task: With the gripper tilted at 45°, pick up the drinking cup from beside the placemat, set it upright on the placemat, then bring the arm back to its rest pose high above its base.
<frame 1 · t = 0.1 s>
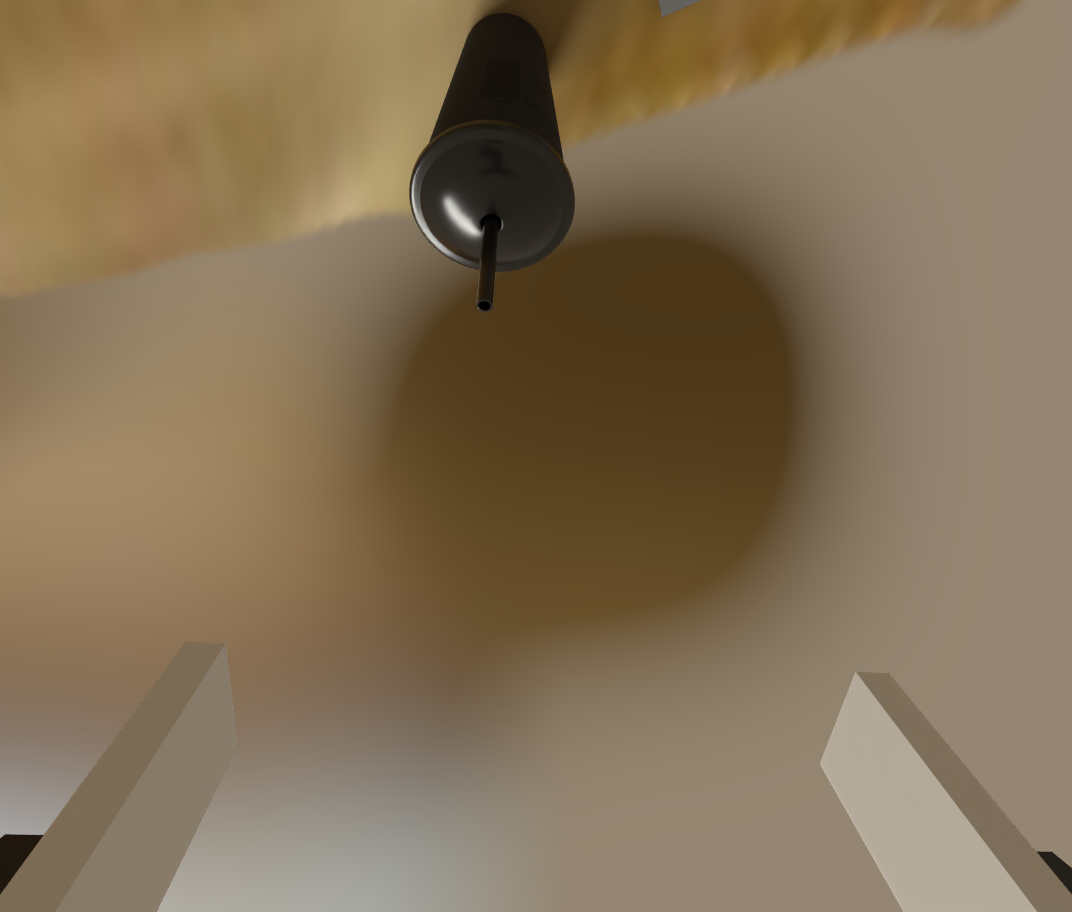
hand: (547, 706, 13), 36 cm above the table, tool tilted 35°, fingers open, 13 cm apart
drinking cup: (504, 59, 35), on the table
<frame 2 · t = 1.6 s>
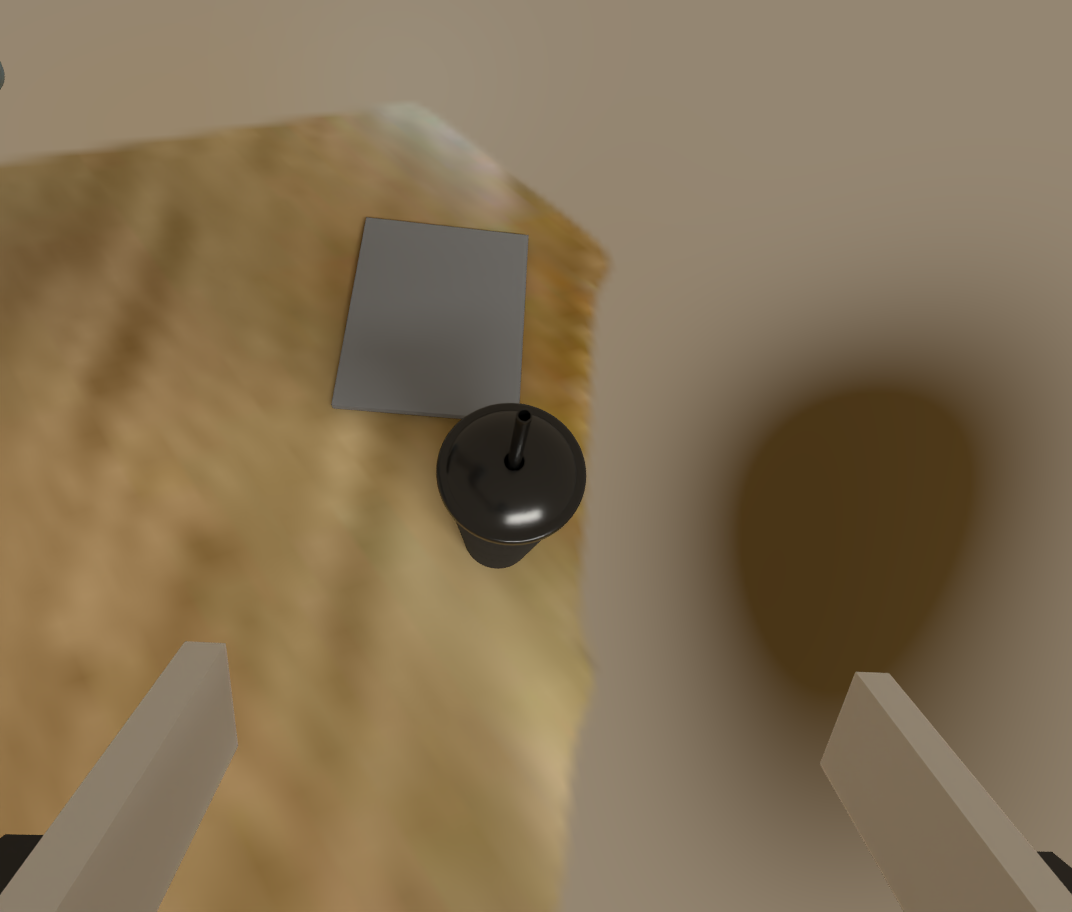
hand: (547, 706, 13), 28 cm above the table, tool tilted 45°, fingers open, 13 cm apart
drinking cup: (497, 536, 43), on the table
placemat: (438, 317, 49), on the table
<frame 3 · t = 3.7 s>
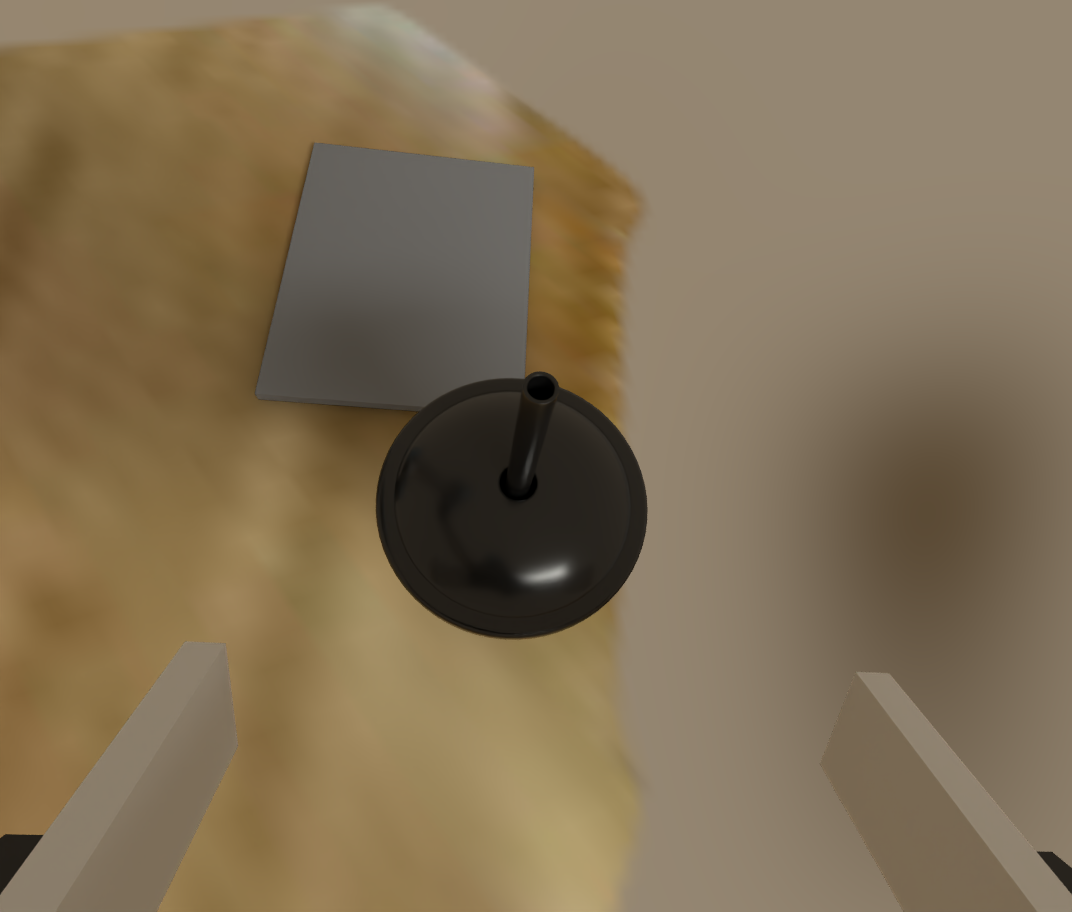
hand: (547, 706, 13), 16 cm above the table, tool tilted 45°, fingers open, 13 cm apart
drinking cup: (494, 583, 29), on the table
placemat: (411, 274, 36), on the table
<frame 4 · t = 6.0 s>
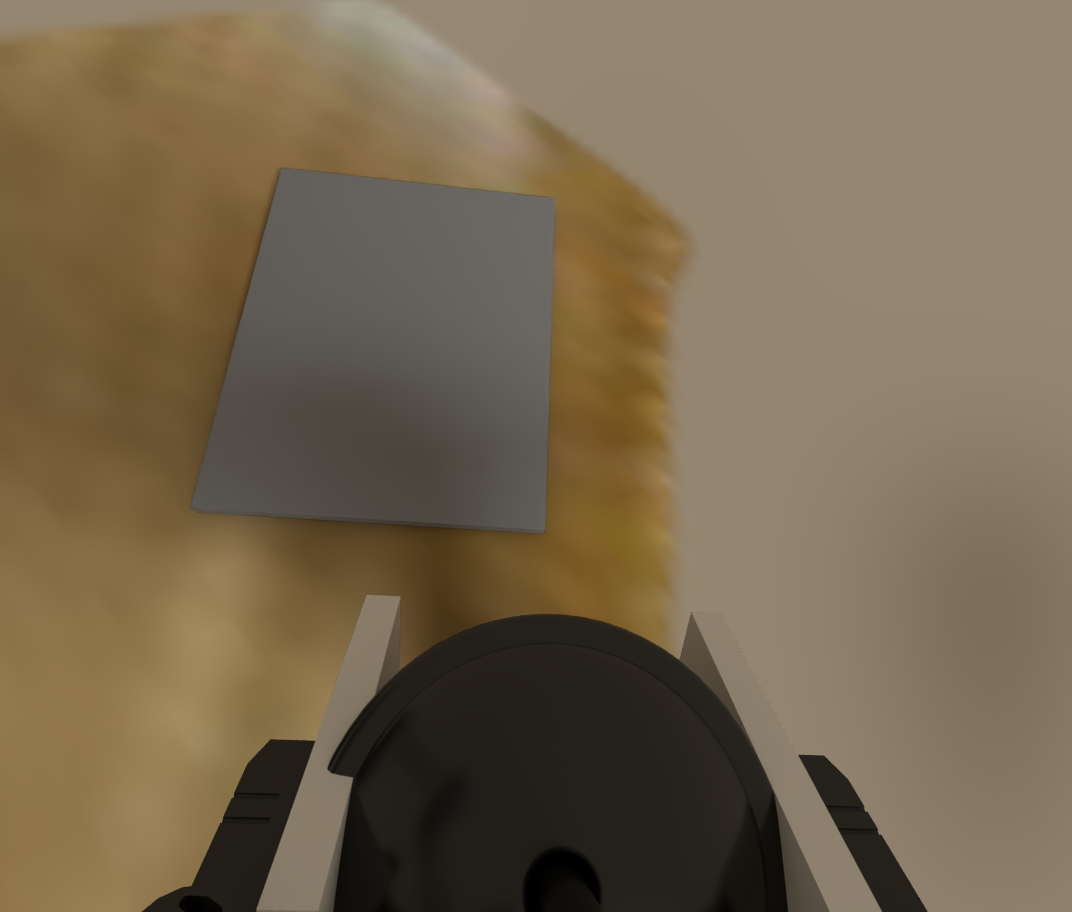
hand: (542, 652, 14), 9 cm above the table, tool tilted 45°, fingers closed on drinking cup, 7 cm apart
drinking cup: (508, 773, 22), on the table, touching gripper
placemat: (401, 337, 28), on the table
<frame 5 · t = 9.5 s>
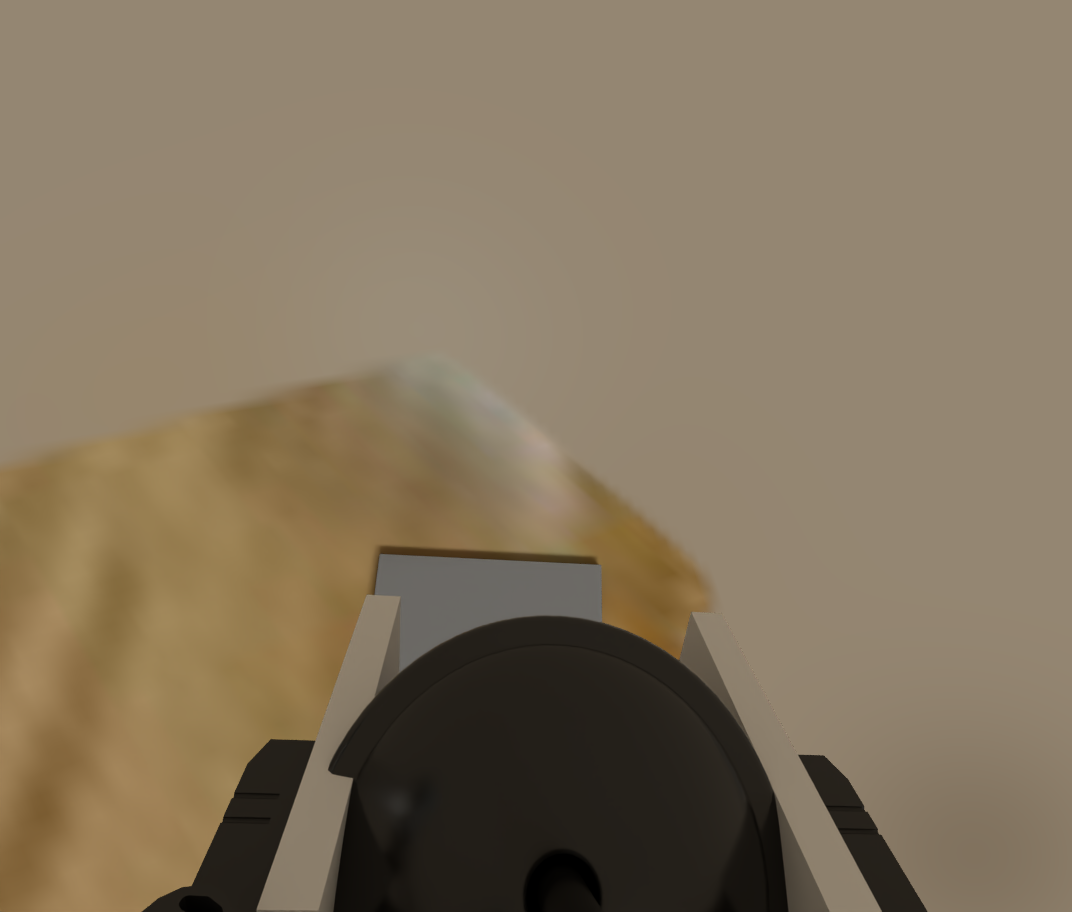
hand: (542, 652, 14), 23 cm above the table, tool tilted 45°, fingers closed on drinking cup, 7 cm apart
drinking cup: (508, 774, 22), point 14 cm above the table, touching gripper
placemat: (483, 714, 35), on the table
when the fingers open (11 cm above the table, at t = 13.1 s): drinking cup drops 1 cm, resting on placemat.
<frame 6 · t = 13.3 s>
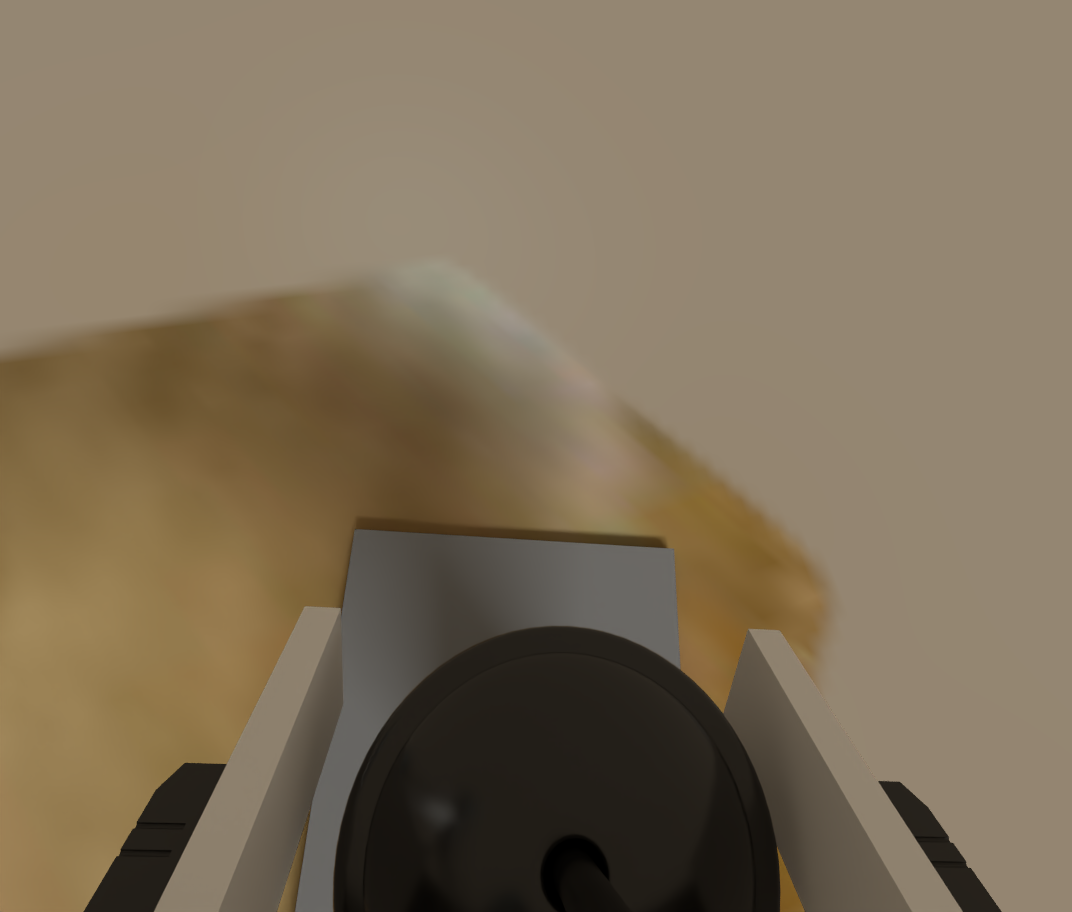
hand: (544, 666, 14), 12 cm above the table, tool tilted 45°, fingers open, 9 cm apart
drinking cup: (512, 770, 23), resting on placemat
placemat: (505, 768, 23), on the table
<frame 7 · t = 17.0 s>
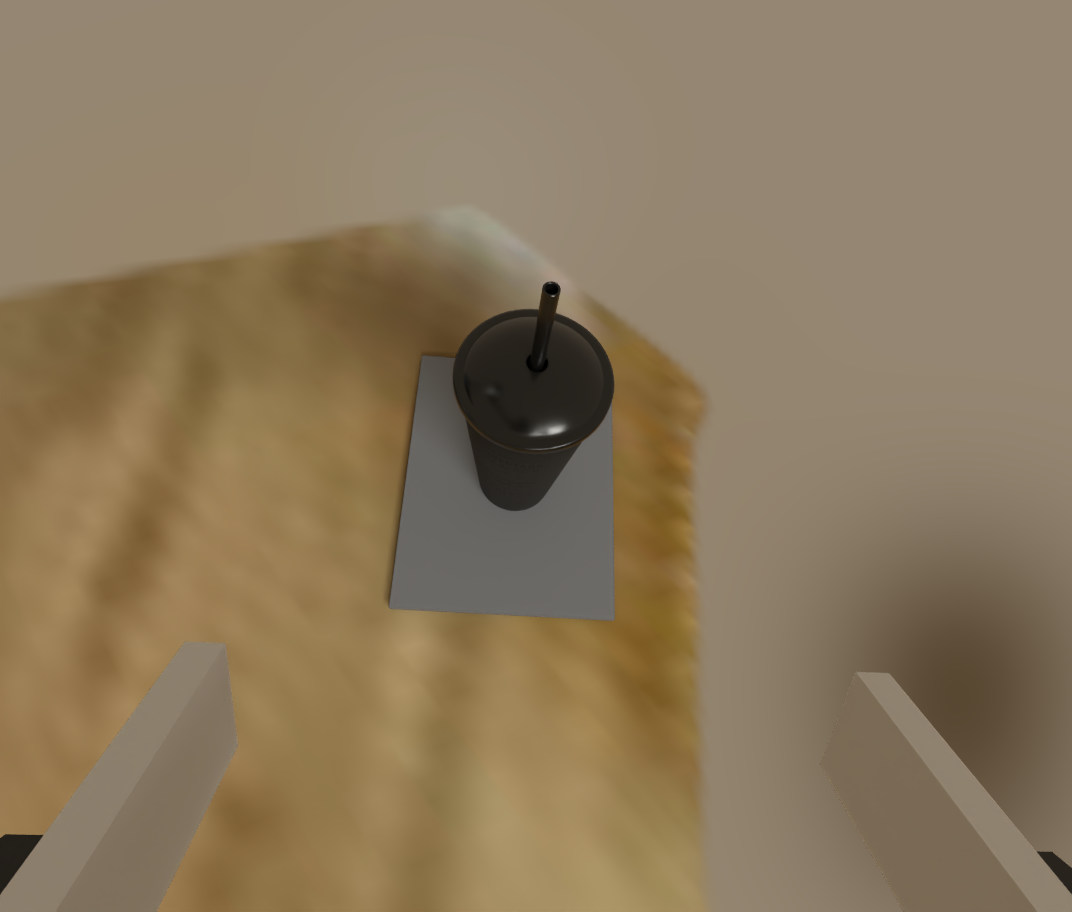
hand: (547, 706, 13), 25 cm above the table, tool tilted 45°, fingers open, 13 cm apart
drinking cup: (514, 478, 41), resting on placemat
placemat: (510, 480, 41), on the table
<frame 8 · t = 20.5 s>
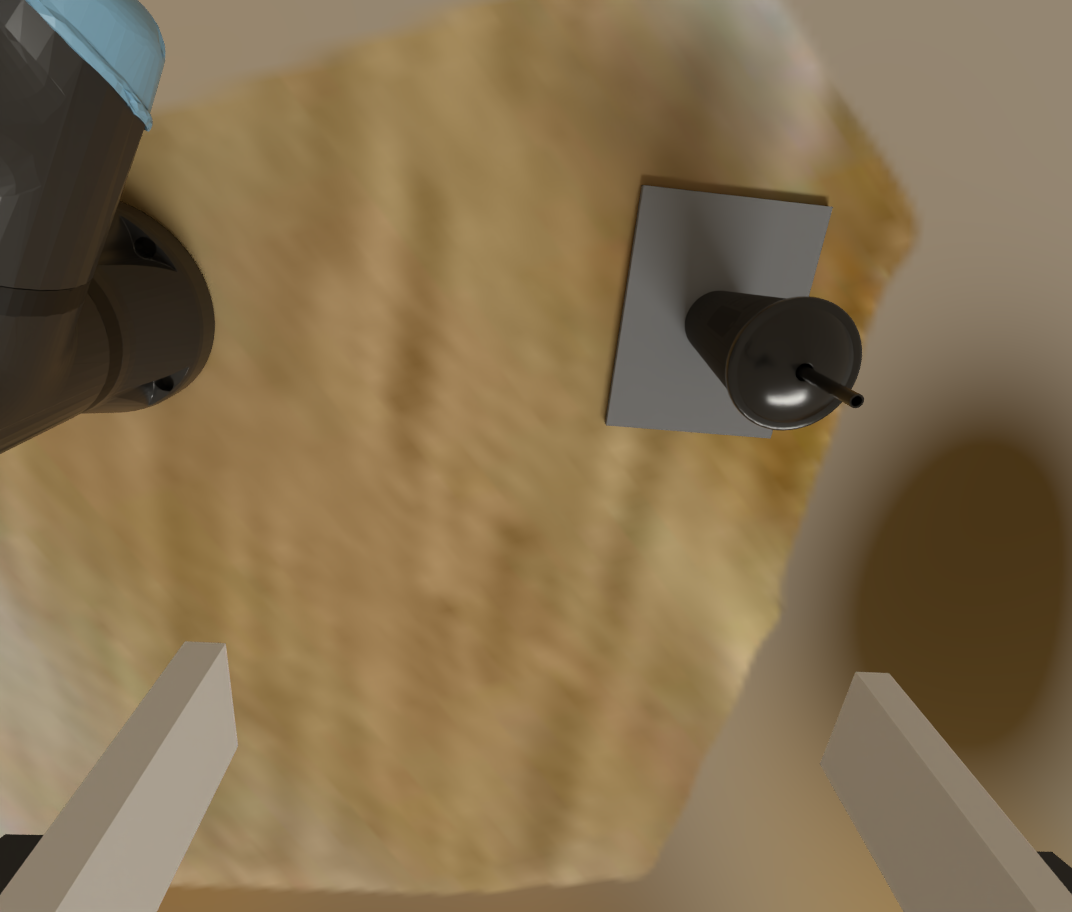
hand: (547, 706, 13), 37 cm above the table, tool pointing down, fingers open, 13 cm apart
drinking cup: (714, 322, 46), resting on placemat
placemat: (710, 321, 47), on the table
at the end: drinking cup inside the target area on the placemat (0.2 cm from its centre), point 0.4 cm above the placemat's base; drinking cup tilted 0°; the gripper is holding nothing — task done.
